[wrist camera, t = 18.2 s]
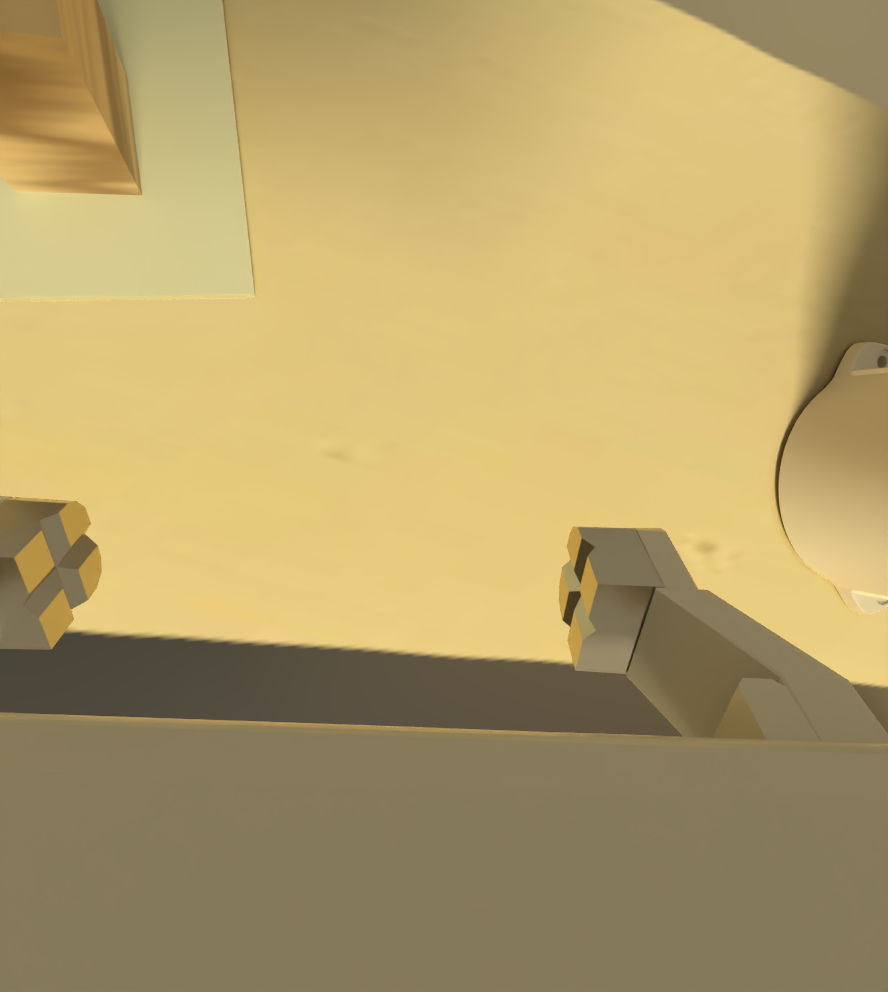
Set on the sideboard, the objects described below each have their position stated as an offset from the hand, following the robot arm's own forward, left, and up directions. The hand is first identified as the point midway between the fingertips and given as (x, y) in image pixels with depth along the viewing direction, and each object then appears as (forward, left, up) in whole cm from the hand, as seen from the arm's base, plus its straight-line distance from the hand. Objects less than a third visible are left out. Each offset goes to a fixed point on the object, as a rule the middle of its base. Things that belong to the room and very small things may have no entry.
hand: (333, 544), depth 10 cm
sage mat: (+8, -16, -22) cm, 28 cm away
